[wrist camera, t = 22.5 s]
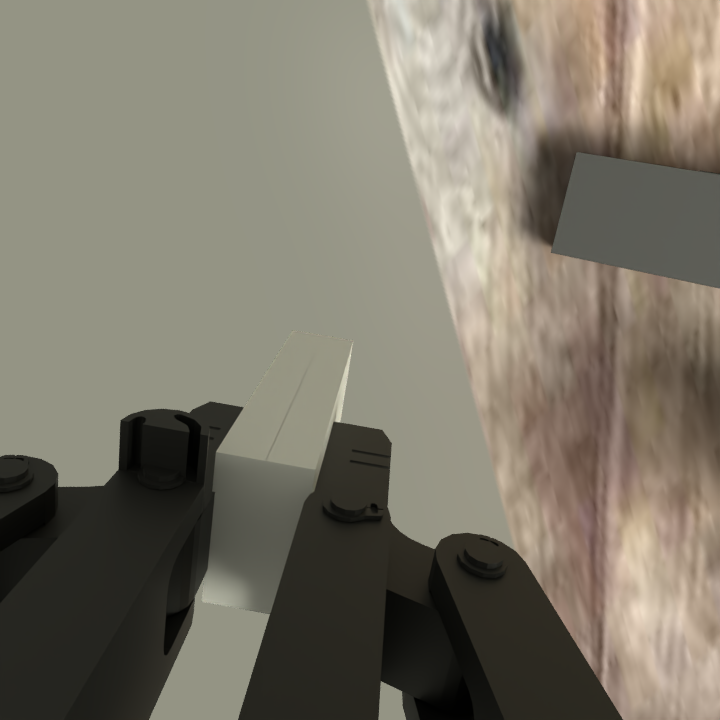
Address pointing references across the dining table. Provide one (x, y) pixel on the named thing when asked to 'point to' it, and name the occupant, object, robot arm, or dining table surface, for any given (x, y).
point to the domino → (642, 218)
